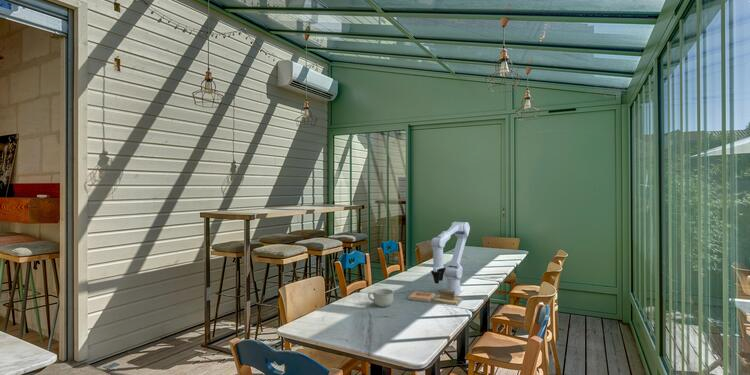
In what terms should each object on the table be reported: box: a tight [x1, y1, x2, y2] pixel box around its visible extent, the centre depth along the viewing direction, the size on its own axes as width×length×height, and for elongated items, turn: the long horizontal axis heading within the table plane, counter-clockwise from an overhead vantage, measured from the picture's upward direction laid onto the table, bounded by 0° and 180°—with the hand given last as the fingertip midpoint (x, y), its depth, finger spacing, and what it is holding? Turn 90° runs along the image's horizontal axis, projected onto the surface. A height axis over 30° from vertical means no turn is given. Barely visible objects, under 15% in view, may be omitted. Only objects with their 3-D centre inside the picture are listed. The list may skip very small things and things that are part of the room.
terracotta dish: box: [407, 291, 436, 303], centre depth 227 cm, size 12×12×2 cm
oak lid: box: [432, 289, 462, 304], centre depth 221 cm, size 13×13×5 cm
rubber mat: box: [432, 298, 464, 307], centre depth 220 cm, size 14×14×1 cm
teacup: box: [367, 288, 394, 308], centre depth 214 cm, size 14×11×8 cm
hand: (438, 281), depth 227 cm, fingers open, 7 cm apart
